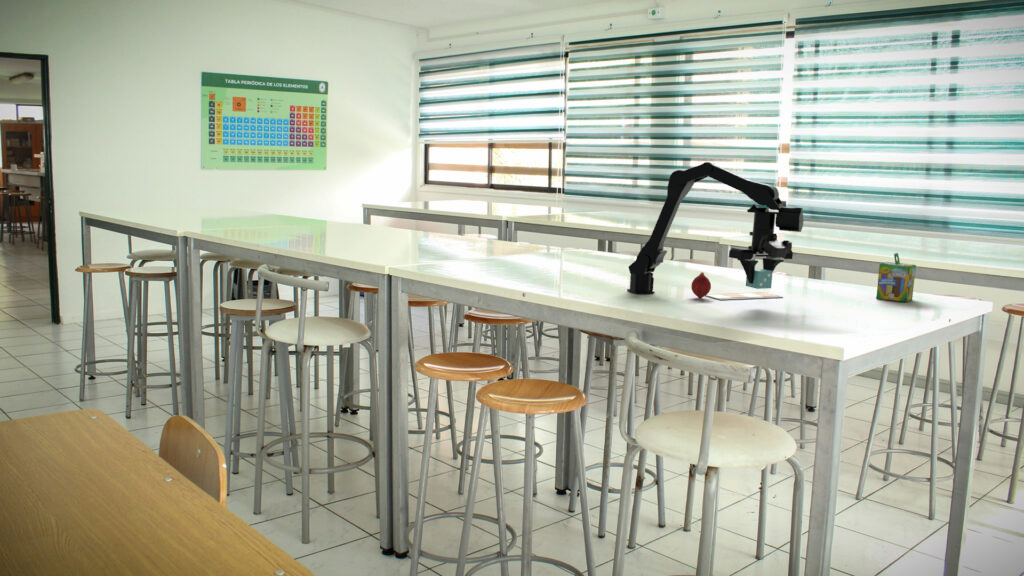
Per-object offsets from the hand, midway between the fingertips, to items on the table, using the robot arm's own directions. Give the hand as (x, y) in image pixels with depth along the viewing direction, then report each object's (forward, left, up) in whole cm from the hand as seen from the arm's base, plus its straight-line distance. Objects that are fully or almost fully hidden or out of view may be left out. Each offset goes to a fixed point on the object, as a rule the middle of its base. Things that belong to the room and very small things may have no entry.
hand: (758, 283), depth 228 cm
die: (0, 0, -1) cm, 1 cm away
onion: (-8, +16, -7) cm, 19 cm away
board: (+8, +16, -7) cm, 19 cm away
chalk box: (+57, +2, -7) cm, 57 cm away
